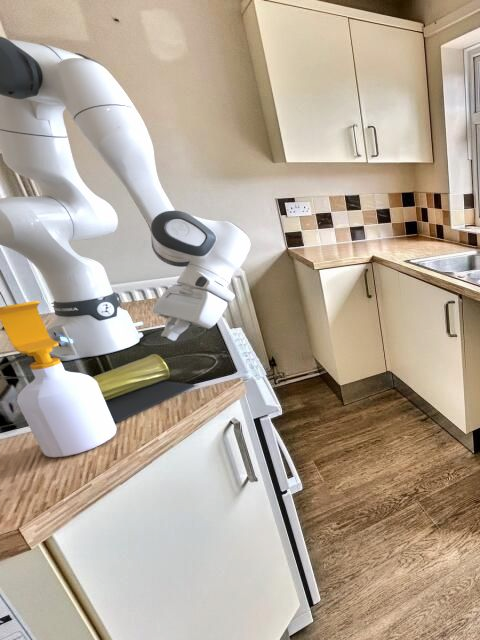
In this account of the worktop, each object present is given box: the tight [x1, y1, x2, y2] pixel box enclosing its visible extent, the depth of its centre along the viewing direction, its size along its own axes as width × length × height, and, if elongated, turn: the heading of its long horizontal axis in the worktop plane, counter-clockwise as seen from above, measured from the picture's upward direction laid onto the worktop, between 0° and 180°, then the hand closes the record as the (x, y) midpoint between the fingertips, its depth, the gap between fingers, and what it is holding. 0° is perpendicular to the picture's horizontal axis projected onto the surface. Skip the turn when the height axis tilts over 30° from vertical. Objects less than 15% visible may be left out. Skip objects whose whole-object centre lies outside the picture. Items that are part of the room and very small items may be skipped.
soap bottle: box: [0, 300, 117, 458], centre depth 67 cm, size 9×9×25 cm
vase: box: [91, 353, 171, 401], centre depth 87 cm, size 6×6×14 cm
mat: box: [105, 380, 195, 424], centre depth 86 cm, size 20×15×1 cm
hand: (167, 338), depth 93 cm, fingers closed
